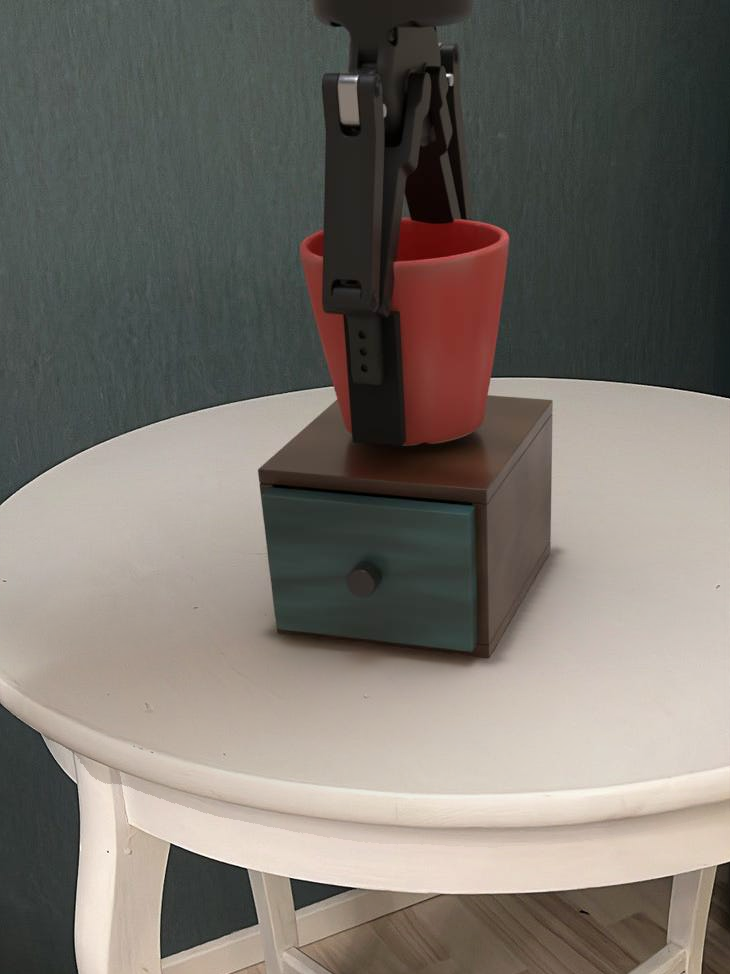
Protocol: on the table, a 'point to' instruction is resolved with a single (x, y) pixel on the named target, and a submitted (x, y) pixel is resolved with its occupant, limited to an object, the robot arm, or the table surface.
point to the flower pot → (431, 323)
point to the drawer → (373, 566)
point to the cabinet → (448, 493)
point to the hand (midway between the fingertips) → (412, 408)
